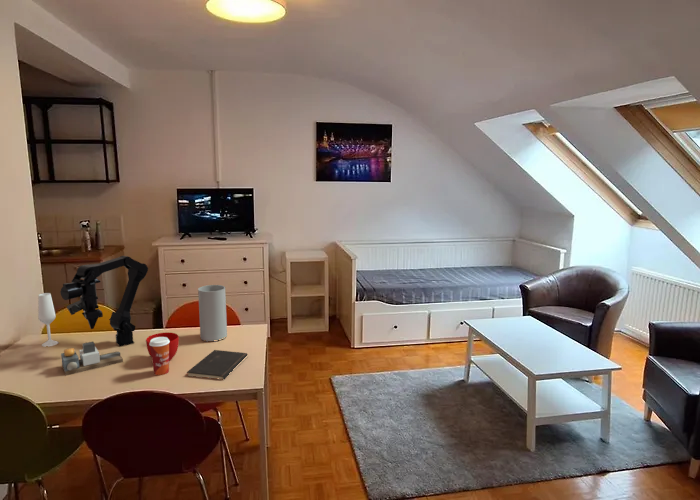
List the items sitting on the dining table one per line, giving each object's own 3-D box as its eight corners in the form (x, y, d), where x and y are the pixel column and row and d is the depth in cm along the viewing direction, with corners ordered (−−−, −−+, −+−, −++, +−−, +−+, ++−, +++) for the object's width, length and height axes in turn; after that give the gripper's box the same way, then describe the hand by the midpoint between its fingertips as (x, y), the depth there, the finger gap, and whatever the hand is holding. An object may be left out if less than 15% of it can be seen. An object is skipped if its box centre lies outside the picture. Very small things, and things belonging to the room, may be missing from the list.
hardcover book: (186, 377, 182) (186, 372, 182) (214, 354, 205) (214, 349, 204) (223, 381, 179) (223, 376, 179) (247, 358, 202) (247, 353, 201)
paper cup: (159, 378, 180) (156, 344, 178) (147, 373, 184) (144, 340, 182) (175, 370, 187) (173, 338, 184) (164, 366, 191) (161, 334, 188)
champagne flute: (61, 341, 216) (56, 292, 212) (53, 346, 210) (47, 296, 205) (47, 341, 216) (41, 292, 212) (38, 346, 210) (32, 296, 205)
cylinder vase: (222, 342, 217) (220, 291, 213) (196, 342, 217) (194, 291, 213) (230, 333, 230) (228, 285, 225) (205, 332, 230) (203, 284, 225)
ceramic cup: (163, 349, 209) (162, 328, 207) (185, 358, 199) (184, 336, 197) (136, 358, 198) (134, 336, 196) (158, 368, 189) (157, 345, 187)
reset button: (73, 352, 188) (73, 347, 188) (75, 354, 185) (74, 350, 185) (63, 354, 186) (63, 349, 186) (65, 357, 183) (64, 352, 183)
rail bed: (117, 354, 202) (116, 341, 201) (123, 361, 194) (121, 348, 193) (62, 366, 189) (60, 353, 188) (65, 375, 181) (64, 361, 180)
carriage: (96, 356, 196) (94, 339, 194) (100, 362, 190) (98, 344, 188) (80, 359, 192) (78, 342, 191) (83, 366, 186) (81, 348, 185)
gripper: (64, 292, 199) (67, 326, 202) (70, 302, 185) (74, 339, 187) (92, 288, 206) (95, 321, 209) (101, 298, 192) (104, 333, 194)
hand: (92, 328), depth 200 cm, fingers closed
